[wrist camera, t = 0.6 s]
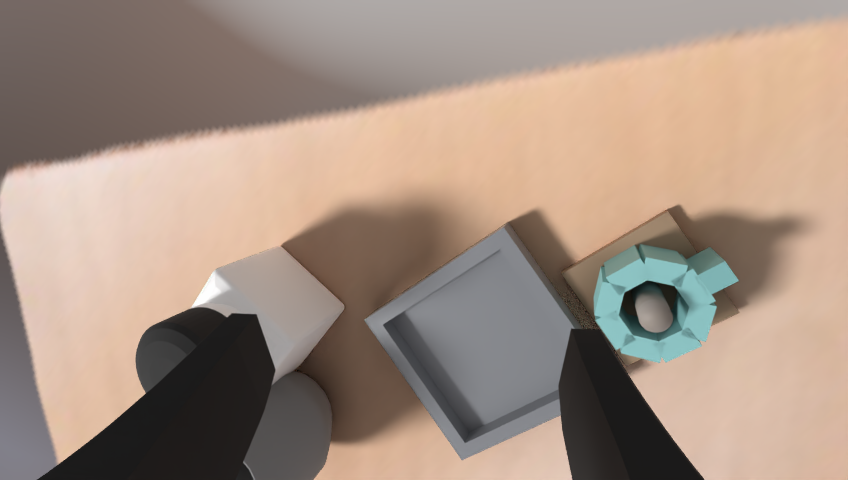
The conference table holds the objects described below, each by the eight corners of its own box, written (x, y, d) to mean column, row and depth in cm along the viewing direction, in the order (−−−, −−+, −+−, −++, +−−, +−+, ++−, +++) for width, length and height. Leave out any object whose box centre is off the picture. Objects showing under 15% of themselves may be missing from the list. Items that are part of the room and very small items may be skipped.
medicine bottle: (239, 305, 39) (102, 373, 28) (280, 243, 37) (147, 291, 26) (301, 365, 39) (185, 459, 27) (348, 305, 36) (241, 383, 25)
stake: (736, 308, 28) (765, 343, 23) (625, 361, 30) (632, 401, 26) (666, 209, 28) (681, 224, 23) (561, 271, 30) (557, 295, 26)
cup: (368, 392, 37) (295, 479, 28) (328, 475, 40) (251, 578, 31) (270, 330, 39) (171, 392, 30) (239, 414, 42) (141, 494, 33)
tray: (615, 375, 31) (617, 389, 29) (467, 444, 35) (461, 460, 33) (508, 221, 31) (503, 227, 29) (374, 310, 35) (364, 319, 34)
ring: (630, 351, 29) (634, 376, 26) (577, 277, 29) (576, 293, 26) (744, 296, 27) (764, 317, 24) (687, 214, 27) (699, 224, 24)
